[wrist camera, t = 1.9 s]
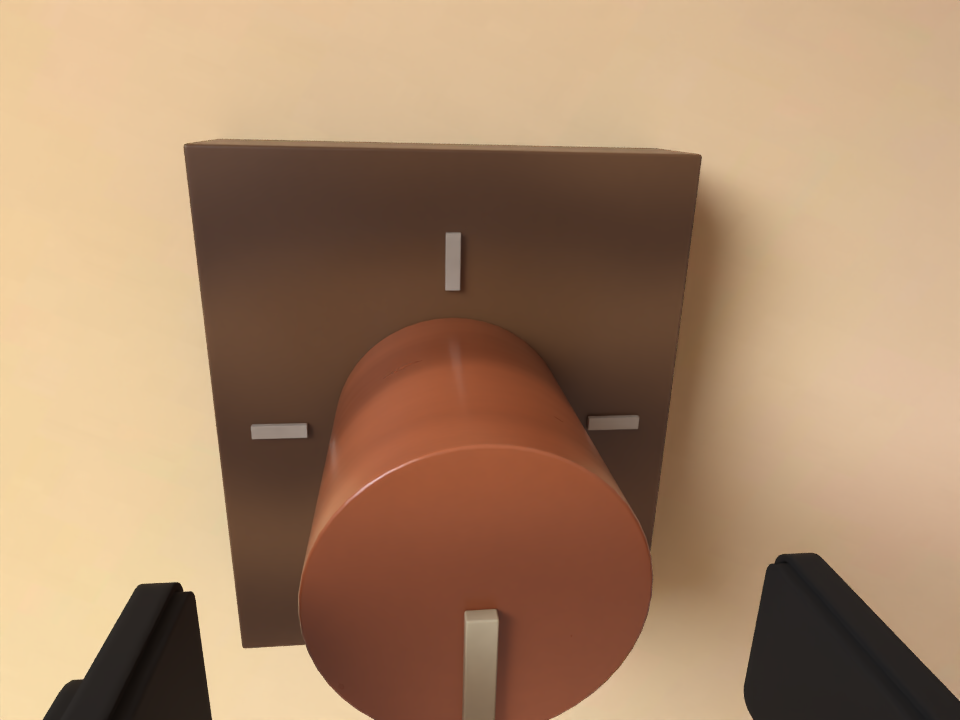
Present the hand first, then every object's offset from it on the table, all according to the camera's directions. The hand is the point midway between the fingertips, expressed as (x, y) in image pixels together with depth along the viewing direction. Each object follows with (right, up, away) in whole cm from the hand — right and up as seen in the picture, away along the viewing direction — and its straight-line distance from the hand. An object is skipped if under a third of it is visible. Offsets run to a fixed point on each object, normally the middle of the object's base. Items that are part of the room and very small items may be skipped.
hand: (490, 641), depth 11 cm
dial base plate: (-1, +4, +10) cm, 11 cm away
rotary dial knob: (-1, +3, +7) cm, 8 cm away
